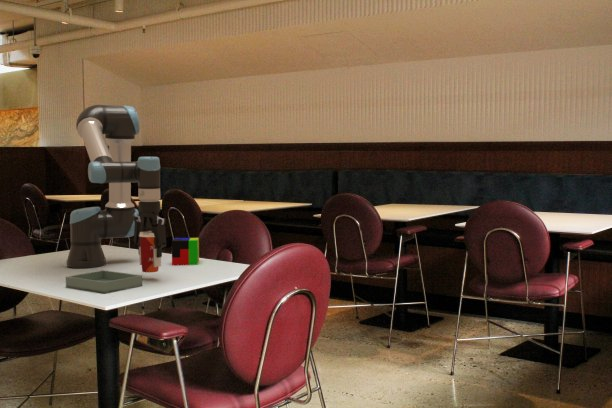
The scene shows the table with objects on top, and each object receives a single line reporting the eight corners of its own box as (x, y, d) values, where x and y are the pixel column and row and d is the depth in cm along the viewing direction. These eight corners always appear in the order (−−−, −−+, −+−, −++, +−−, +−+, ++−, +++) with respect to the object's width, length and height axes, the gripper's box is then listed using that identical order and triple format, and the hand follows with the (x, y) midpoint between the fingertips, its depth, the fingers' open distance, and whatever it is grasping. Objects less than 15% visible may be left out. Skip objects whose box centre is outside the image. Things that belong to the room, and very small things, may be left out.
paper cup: (155, 273, 237) (155, 233, 236) (135, 272, 238) (134, 232, 237) (164, 269, 245) (164, 230, 243) (145, 268, 246) (144, 230, 245)
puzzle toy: (174, 262, 283) (174, 238, 282) (199, 261, 284) (198, 237, 283) (172, 265, 273) (171, 240, 272) (197, 265, 274) (196, 240, 273)
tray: (66, 287, 227) (65, 276, 227) (103, 280, 240) (103, 270, 240) (105, 293, 216) (104, 282, 216) (142, 285, 229) (142, 275, 229)
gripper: (122, 199, 242) (123, 264, 244) (161, 202, 231) (161, 270, 233) (138, 198, 248) (139, 261, 250) (177, 201, 237) (177, 266, 239)
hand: (150, 265), depth 241 cm, fingers closed on paper cup, 6 cm apart
